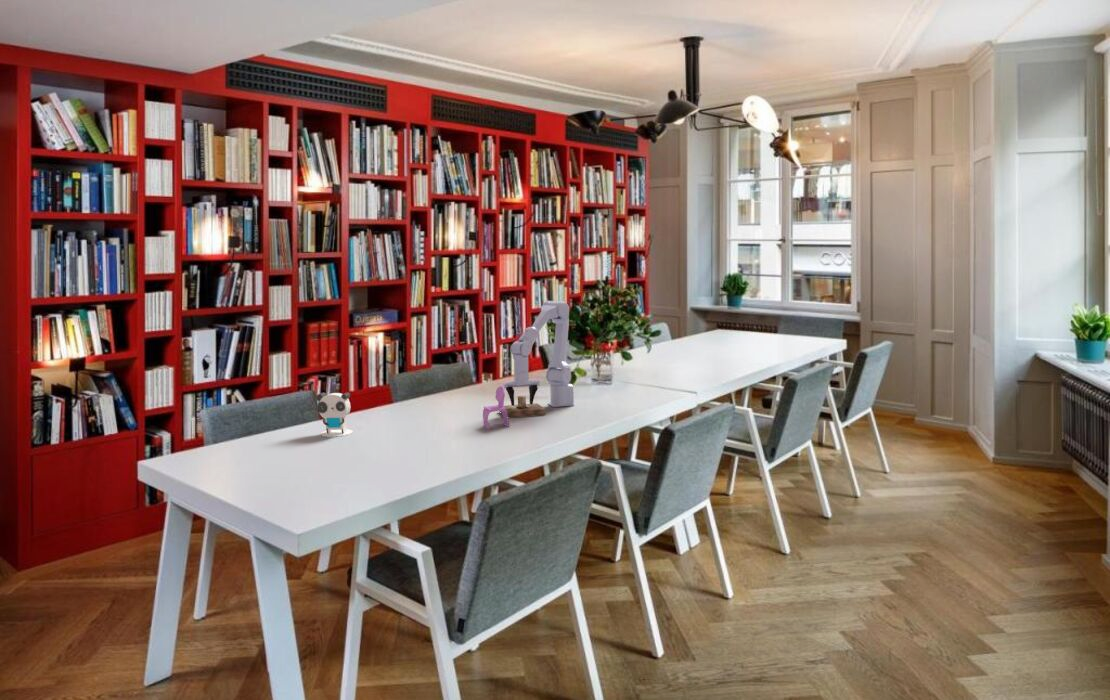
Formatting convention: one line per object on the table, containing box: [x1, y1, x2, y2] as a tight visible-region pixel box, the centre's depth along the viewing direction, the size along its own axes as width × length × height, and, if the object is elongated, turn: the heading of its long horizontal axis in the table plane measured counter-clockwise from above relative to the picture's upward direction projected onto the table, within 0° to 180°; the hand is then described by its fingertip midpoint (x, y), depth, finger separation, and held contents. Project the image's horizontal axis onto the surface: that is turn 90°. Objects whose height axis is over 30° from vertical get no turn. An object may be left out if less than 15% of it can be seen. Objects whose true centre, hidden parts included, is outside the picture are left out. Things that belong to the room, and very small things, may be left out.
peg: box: [517, 395, 527, 409], centre depth 328 cm, size 3×3×7 cm
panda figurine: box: [316, 392, 353, 438], centre depth 298 cm, size 12×11×15 cm
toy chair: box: [482, 386, 511, 430], centre depth 305 cm, size 8×9×15 cm
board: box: [498, 403, 546, 418], centre depth 328 cm, size 16×12×2 cm
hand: (522, 404), depth 328 cm, fingers open, 7 cm apart
